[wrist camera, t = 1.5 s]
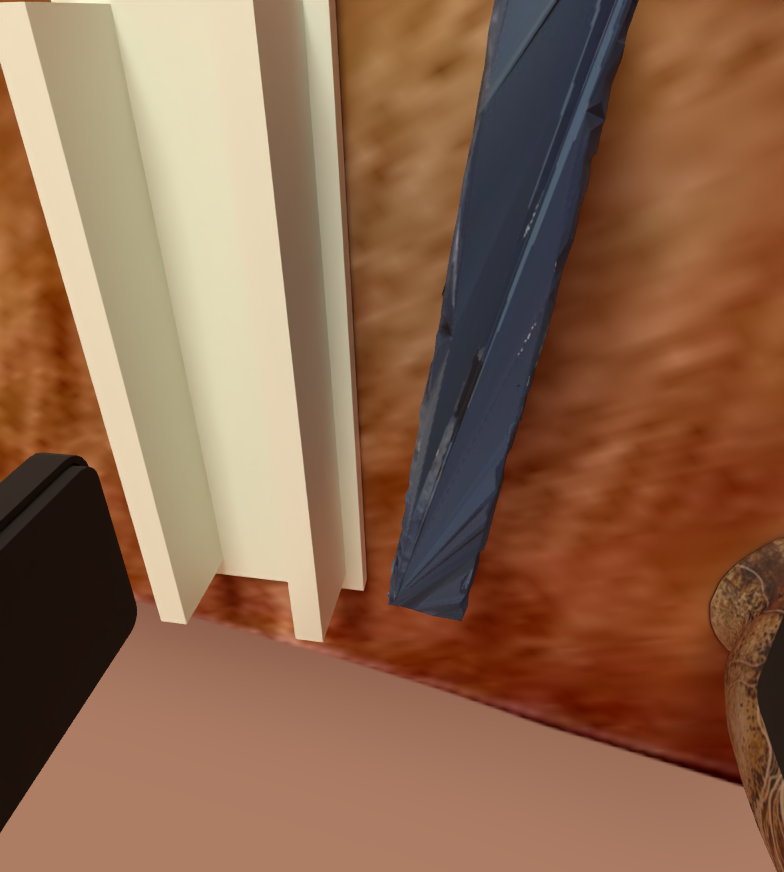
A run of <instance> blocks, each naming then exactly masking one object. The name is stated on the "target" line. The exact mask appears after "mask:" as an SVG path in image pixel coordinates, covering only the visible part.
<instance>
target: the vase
mask: <svg viewBox="0 0 784 872" xmlns="http://www.w3.org/2000/svg"><path fill="white" fill-rule="evenodd" d="M710 613H711V624H712V627H713V629H714V632H715V634H716V636H717V638H718V639H719V641H720V642H721V643H722V644H723V645H724V646H725V647H726V648H727V649H728V651H730V653H729V655H728V658H727V661H726V665H725V671H724V694H725V708H726V719H727V727H728V733H729V736H730V740H731V743H732V747H733V751H734V754H735V758H736V762H737V765H738V769H739V773H740V777H741V780H742V783H743V786H744V789H745V792H746V794H747V798H748V800H749V803H750V806H751V809H752V812H753V814H754V817H755V820H756V823H757V826H758V828H759V831H760V833H761V835H762V838H763V840H764V842H765V845H766V847H767V850H768V852H769V854H770V857H771V859H772V861H773V863H774V866H775V868H776V870H777V872H784V780H783V777H782V774H781V771H780V768H779V765H778V763H777V760H776V757H775V754H774V751H773V748H772V745H771V742H770V739H769V736H768V733H767V731H766V728H765V725H764V722H763V719H762V716H761V713H760V710H759V706H758V700H757V684H758V680H759V676H760V674H761V671H762V669H763V666H764V664H765V661H766V658H767V656H768V653H769V651H770V648H771V646H772V643H773V641H774V638H775V636H776V633H777V631H778V628H779V625H780V623H781V620H782V618H783V615H784V537H783V538H780V539H777V540H775V541H773V542H771V543H769V544H766V545H764V546H763V547H761V548H760V549H758V550H757V551H755V552H753V553H752V554H750V555H749V556H747V557H746V558H744V559H743V560H741V561H740V562H739V563H738V564H736V565H735V566H734V567H733V568H732V569H731V570H730V571H729V572H728V573H727V574H726V575H725V577H724V578H723V579H722V580H721V582H720V583H719V586H718V588H717V590H716V592H715V594H714V597H713V599H712V601H711V605H710Z"/></svg>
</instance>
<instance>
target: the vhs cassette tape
mask: <svg viewBox="0 0 784 872" xmlns="http://www.w3.org/2000/svg"><path fill="white" fill-rule="evenodd" d="M638 1H639V0H495V2H494V7H493V12H492V17H491V22H490V26H489V32H488V41H487V50H486V58H485V67H484V72H483V77H482V82H481V87H480V93H479V99H478V105H477V111H476V117H475V124H474V131H473V137H472V141H471V145H470V149H469V154H468V160H467V165H466V169H465V173H464V179H463V185H462V191H461V198H460V204H459V211H458V217H457V222H456V226H455V231H454V236H453V241H452V246H451V251H450V257H449V264H448V270H447V277H446V283H445V286H444V290H443V293H442V295H443V302H442V310H441V319H440V325H439V330H438V333H437V336H436V345H435V353H434V358H433V361H432V363H431V367H430V372H429V377H428V381H427V384H426V389H425V393H424V397H423V401H422V405H421V409H420V425H419V431H418V436H417V442H416V446H415V451H414V455H413V460H412V465H411V471H410V478H409V488H408V490H407V493H406V495H405V505H406V508H405V513H404V517H403V521H402V532H401V535H400V539H399V543H398V548H397V551H396V557H395V559H394V561H393V563H392V575H391V580H390V590H389V592H388V593H387V594H388V597H389V603H388V604H389V605H396V606H402V607H406V608H409V609H412V610H416V611H419V612H422V613H425V614H429V615H432V616H437V617H443V618H448V619H454V620H459V621H462V618H463V616H464V613H465V611H466V609H467V606H468V595H469V590H470V588H471V586H472V583H473V580H474V577H475V573H476V570H477V567H478V563H479V555H480V551H482V550H484V547H485V544H486V541H487V538H488V534H489V530H490V526H491V522H492V518H493V514H494V511H495V507H496V503H497V500H498V496H499V493H500V489H501V485H502V482H503V476H504V465H505V461H506V457H507V454H508V452H509V451H510V449H511V447H512V444H513V441H514V438H515V434H516V431H517V428H518V424H519V421H520V420H521V418H522V414H523V410H524V406H525V402H526V398H527V394H528V393H529V390H530V387H531V384H532V382H533V379H534V374H535V368H536V365H537V364H538V360H539V357H540V354H541V350H542V347H543V344H544V341H545V337H546V334H547V330H548V327H549V323H550V319H551V315H552V311H553V307H554V304H555V299H556V295H557V291H558V287H559V282H560V278H561V274H562V270H563V268H564V265H565V262H566V259H567V256H568V254H569V251H570V248H571V245H572V243H573V240H574V236H575V231H576V226H577V221H578V217H579V212H580V207H581V204H582V201H583V198H584V195H585V192H586V189H587V186H588V182H589V173H590V163H591V157H592V156H594V155H595V154H596V152H597V148H598V143H599V139H600V135H601V130H602V126H603V123H604V121H605V117H606V112H607V106H608V101H609V95H610V90H611V85H612V83H613V80H614V77H615V75H616V72H617V70H618V67H619V64H620V62H621V59H622V55H623V51H624V47H625V41H626V36H627V31H628V28H629V25H630V22H631V20H632V17H633V14H634V11H635V9H636V6H637V3H638Z"/></svg>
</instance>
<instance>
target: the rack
mask: <svg viewBox="0 0 784 872" xmlns="http://www.w3.org/2000/svg"><path fill="white" fill-rule="evenodd" d="M0 62H1V66H2V69H3V73H4V76H5V80H6V83H7V87H8V90H9V94H10V97H11V101H12V104H13V108H14V111H15V114H16V118H17V121H18V125H19V128H20V132H21V135H22V139H23V142H24V146H25V149H26V153H27V156H28V160H29V163H30V167H31V170H32V174H33V177H34V180H35V184H36V187H37V191H38V194H39V198H40V201H41V205H42V208H43V212H44V215H45V219H46V222H47V226H48V229H49V233H50V236H51V240H52V243H53V246H54V250H55V253H56V257H57V260H58V264H59V267H60V271H61V274H62V278H63V281H64V285H65V288H66V292H67V295H68V299H69V302H70V306H71V309H72V312H73V316H74V319H75V323H76V326H77V330H78V333H79V337H80V340H81V344H82V347H83V351H84V354H85V358H86V361H87V365H88V368H89V372H90V375H91V378H92V382H93V385H94V389H95V392H96V396H97V399H98V403H99V406H100V410H101V413H102V417H103V420H104V424H105V427H106V431H107V434H108V438H109V441H110V444H111V448H112V451H113V455H114V458H115V462H116V465H117V469H118V472H119V476H120V479H121V483H122V486H123V490H124V493H125V497H126V500H127V503H128V507H129V510H130V514H131V517H132V521H133V524H134V528H135V531H136V535H137V538H138V542H139V545H140V549H141V552H142V556H143V559H144V563H145V566H146V569H147V573H148V576H149V580H150V583H151V587H152V590H153V594H154V597H155V601H156V604H157V608H158V611H159V615H160V618H161V621H166V622H173V623H181V624H187V623H188V621H189V619H190V618H191V616H192V614H193V612H194V611H195V609H196V607H197V605H198V604H199V602H200V600H201V598H202V597H203V595H204V593H205V591H206V590H207V588H208V586H209V584H210V583H211V581H212V579H213V577H214V576H215V574H216V573H217V574H225V575H234V576H242V577H251V578H259V579H268V580H276V581H285V582H288V587H289V594H290V601H291V608H292V615H293V622H294V630H295V637H296V639H302V640H309V641H317V642H323V641H324V638H325V635H326V632H327V629H328V626H329V623H330V620H331V617H332V614H333V611H334V608H335V605H336V602H337V599H338V596H339V594H340V591H341V588H344V589H353V590H361V591H364V588H365V584H366V581H367V569H366V551H365V533H364V515H363V496H362V478H361V460H360V442H359V423H358V405H357V387H356V369H355V350H354V332H353V314H352V296H351V277H350V259H349V241H348V223H347V204H346V186H345V168H344V150H343V131H342V113H341V95H340V77H339V58H338V40H337V22H336V3H335V0H51V2H3V3H0Z"/></svg>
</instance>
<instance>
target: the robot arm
mask: <svg viewBox="0 0 784 872" xmlns="http://www.w3.org/2000/svg"><path fill="white" fill-rule="evenodd" d="M136 616H137V606H136V602H135V598H134V595H133V591H132V588H131V585H130V581H129V578H128V574H127V571H126V568H125V564H124V561H123V557H122V554H121V551H120V547H119V544H118V541H117V537H116V534H115V530H114V527H113V524H112V520H111V517H110V513H109V510H108V507H107V503H106V500H105V496H104V493H103V490H102V486H101V483H100V479H99V476H98V474H97V472H96V471H95V470H94V469H93V468H91V467H89V466H88V464H87V462H86V461H85V460H84V459H83V458H82V457H79V456H77V455H65V454H53V453H36V454H34V455H33V456H31V457H29V458H28V459H27V460H26V461H25V462H24V463H23V464H21V465H20V466H19V467H18V468H17V469H16V470H14V471H13V472H12V473H11V474H10V475H9V476H8V477H6V478H5V479H4V480H3V481H2V482H1V483H0V832H1V831H2V829H3V827H4V826H5V824H6V823H7V821H8V820H9V818H10V817H11V815H12V814H13V812H14V811H15V809H16V808H17V806H18V805H19V803H20V801H21V800H22V798H23V797H24V795H25V794H26V792H27V791H28V789H29V788H30V786H31V785H32V783H33V781H34V780H35V778H36V777H37V775H38V774H39V772H40V771H41V769H42V768H43V766H44V765H45V763H46V762H47V760H48V759H49V757H50V755H51V754H52V752H53V751H54V749H55V748H56V746H57V745H58V743H59V742H60V740H61V739H62V737H63V735H64V734H65V733H66V731H67V729H68V728H69V727H70V725H71V723H72V722H73V720H74V719H75V717H76V716H77V714H78V713H79V711H80V710H81V708H82V707H83V705H84V704H85V702H86V700H87V699H88V697H89V696H90V694H91V693H92V691H93V690H94V688H95V687H96V685H97V683H98V682H99V680H100V679H101V677H102V676H103V674H104V673H105V671H106V670H107V668H108V667H109V665H110V663H111V662H112V661H113V659H114V658H115V656H116V654H117V653H118V651H119V650H120V648H121V647H122V645H123V644H124V642H125V640H126V639H127V638H128V636H129V635H130V633H131V631H132V629H133V627H134V625H135V621H136ZM757 700H758V706H759V710H760V713H761V716H762V719H763V722H764V725H765V728H766V731H767V733H768V736H769V739H770V742H771V745H772V748H773V751H774V754H775V757H776V760H777V763H778V765H779V768H780V771H781V774H782V777H783V780H784V615H783V618H782V620H781V623H780V625H779V628H778V631H777V633H776V636H775V638H774V641H773V643H772V646H771V648H770V651H769V653H768V656H767V658H766V661H765V664H764V666H763V669H762V671H761V674H760V676H759V680H758V684H757Z"/></svg>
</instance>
